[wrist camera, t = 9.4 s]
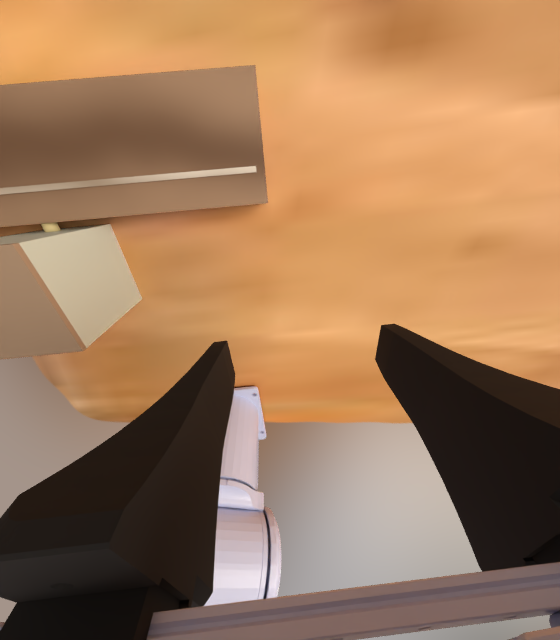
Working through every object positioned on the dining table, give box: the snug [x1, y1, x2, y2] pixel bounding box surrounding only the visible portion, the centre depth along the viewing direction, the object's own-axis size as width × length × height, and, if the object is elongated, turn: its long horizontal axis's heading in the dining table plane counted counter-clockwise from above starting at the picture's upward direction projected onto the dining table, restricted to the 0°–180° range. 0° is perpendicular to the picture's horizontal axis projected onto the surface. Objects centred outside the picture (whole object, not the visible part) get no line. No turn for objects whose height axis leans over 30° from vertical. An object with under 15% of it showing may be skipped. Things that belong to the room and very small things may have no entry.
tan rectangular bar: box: [0, 65, 268, 227], centre depth 13 cm, size 6×20×3 cm, turn 94°
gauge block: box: [0, 222, 142, 359], centre depth 14 cm, size 6×5×7 cm
